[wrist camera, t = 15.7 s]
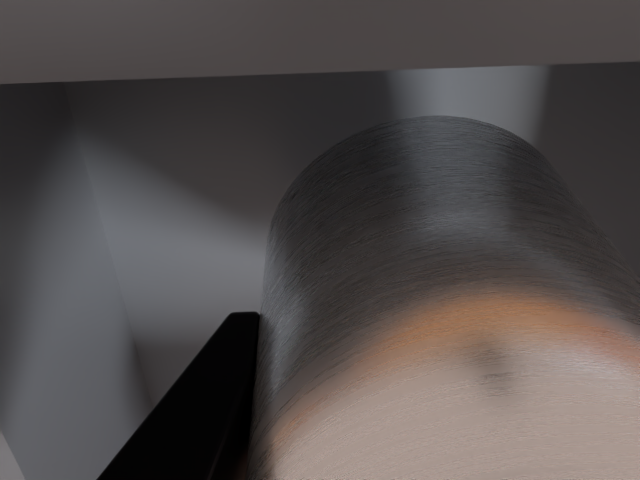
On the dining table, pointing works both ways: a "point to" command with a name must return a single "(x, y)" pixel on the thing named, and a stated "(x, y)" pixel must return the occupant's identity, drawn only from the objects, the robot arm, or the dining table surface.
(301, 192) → the aluminium cylinder
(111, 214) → the tote
